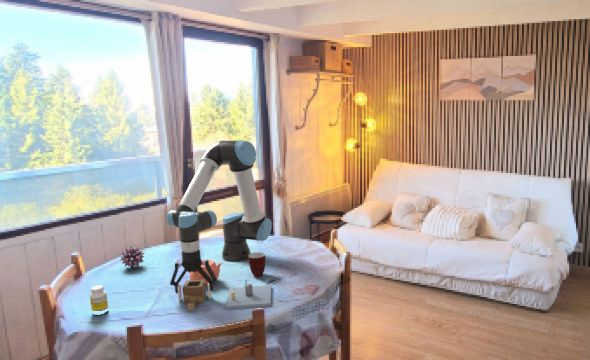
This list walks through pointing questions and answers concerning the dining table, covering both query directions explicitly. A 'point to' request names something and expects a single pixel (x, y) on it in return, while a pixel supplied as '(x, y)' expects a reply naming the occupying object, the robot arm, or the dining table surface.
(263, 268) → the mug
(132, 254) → the spiky ball
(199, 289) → the tan hollow block
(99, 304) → the pill bottle
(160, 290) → the dining table surface
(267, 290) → the post plate
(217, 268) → the teapot
